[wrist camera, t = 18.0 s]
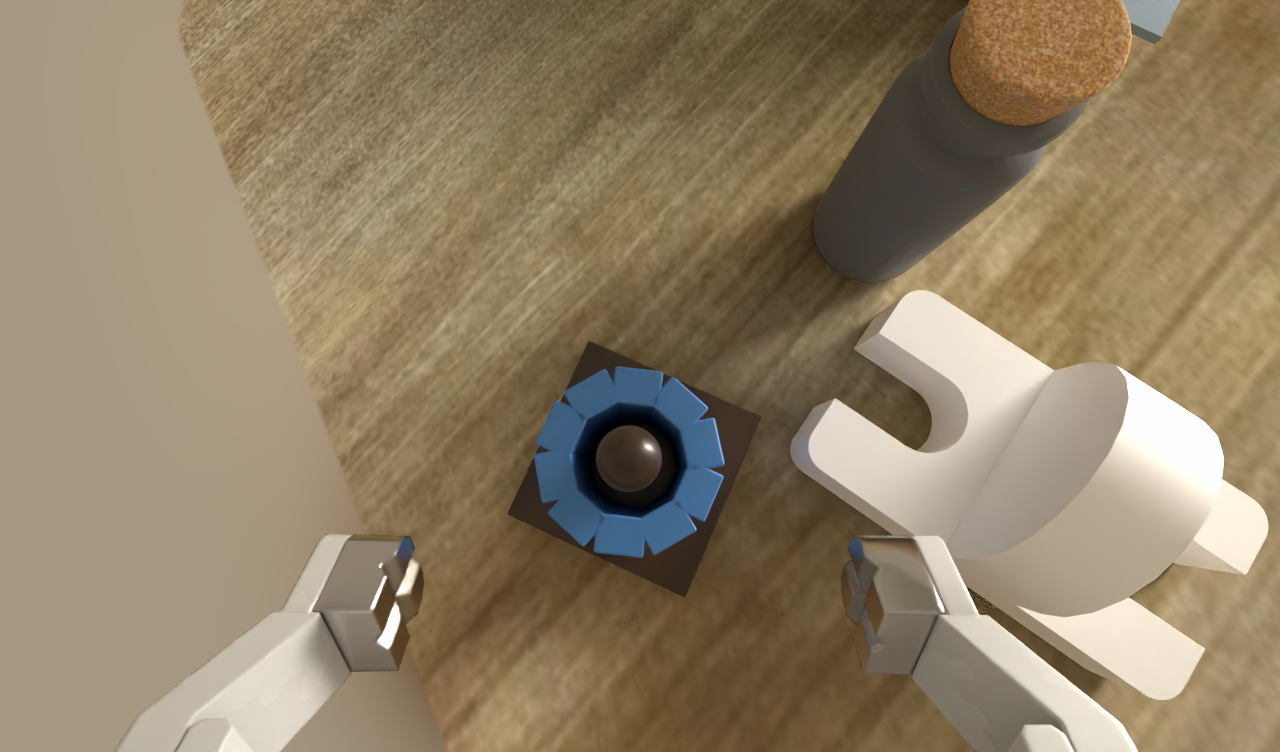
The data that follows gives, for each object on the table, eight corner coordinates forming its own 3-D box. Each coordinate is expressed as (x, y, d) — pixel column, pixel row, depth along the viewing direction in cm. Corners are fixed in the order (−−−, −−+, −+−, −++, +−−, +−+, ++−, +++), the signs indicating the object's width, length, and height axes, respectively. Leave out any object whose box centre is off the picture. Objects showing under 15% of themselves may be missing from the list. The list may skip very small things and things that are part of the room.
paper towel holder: (513, 512, 31) (418, 537, 18) (591, 346, 32) (554, 260, 19) (683, 591, 30) (709, 676, 17) (756, 419, 31) (831, 379, 19)
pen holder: (541, 500, 29) (503, 509, 22) (601, 373, 30) (585, 337, 22) (667, 559, 29) (675, 590, 21) (724, 428, 30) (752, 411, 22)
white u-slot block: (1106, 684, 29) (1348, 792, 19) (780, 456, 31) (844, 446, 21) (1204, 511, 30) (1480, 527, 20) (884, 301, 32) (992, 222, 22)
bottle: (937, 195, 33) (1172, -32, 18) (908, 298, 32) (1130, 146, 17) (829, 162, 33) (974, -87, 19) (798, 263, 33) (924, 86, 18)
